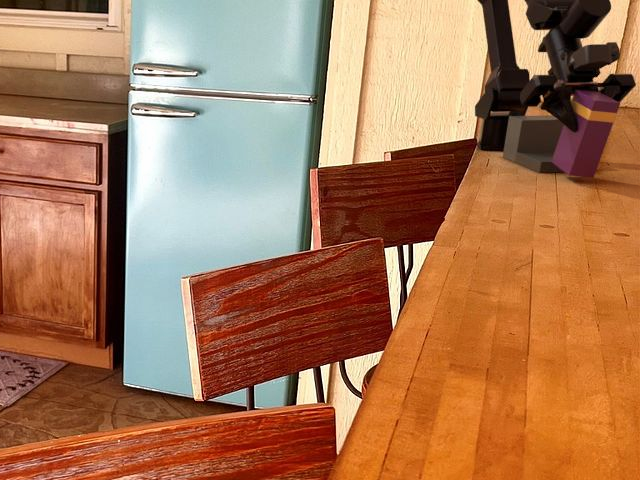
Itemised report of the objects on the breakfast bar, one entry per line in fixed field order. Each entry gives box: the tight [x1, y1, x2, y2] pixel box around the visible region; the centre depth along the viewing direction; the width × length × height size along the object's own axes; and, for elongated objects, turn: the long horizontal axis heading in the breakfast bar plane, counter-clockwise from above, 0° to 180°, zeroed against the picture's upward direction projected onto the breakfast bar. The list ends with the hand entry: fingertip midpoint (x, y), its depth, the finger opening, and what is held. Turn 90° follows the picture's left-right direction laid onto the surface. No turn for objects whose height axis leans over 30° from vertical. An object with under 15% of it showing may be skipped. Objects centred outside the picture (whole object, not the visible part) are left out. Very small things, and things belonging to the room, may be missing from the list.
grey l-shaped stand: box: [502, 114, 565, 174], centre depth 168 cm, size 14×10×8 cm
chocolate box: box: [552, 90, 621, 179], centre depth 154 cm, size 5×8×13 cm, turn 3°
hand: (589, 130), depth 153 cm, fingers closed on chocolate box, 5 cm apart
